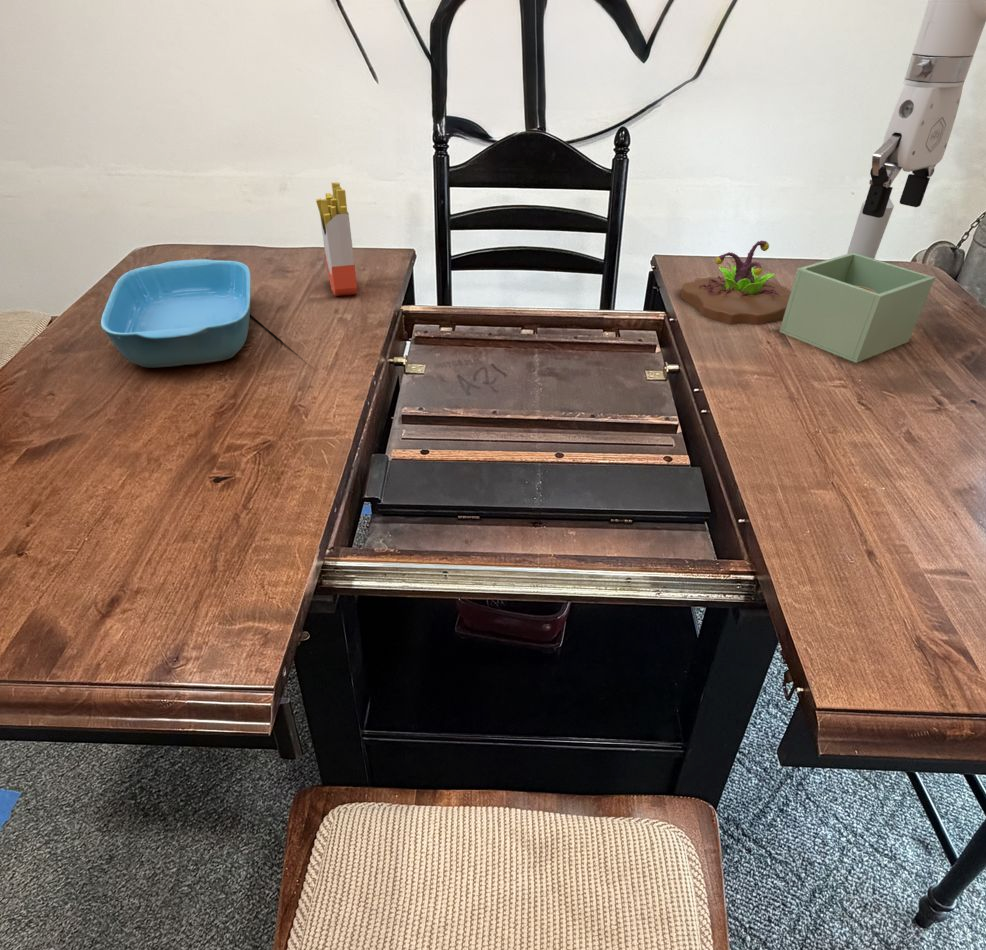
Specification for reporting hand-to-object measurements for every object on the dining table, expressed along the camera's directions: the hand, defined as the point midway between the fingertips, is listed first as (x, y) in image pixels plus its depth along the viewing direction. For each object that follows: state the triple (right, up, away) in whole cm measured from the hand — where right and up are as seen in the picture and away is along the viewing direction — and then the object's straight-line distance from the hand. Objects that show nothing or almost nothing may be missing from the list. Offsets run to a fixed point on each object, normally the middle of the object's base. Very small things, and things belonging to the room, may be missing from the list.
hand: (891, 210), depth 108 cm
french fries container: (-90, 0, +28) cm, 94 cm away
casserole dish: (-112, -14, +13) cm, 114 cm away
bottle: (+7, -2, +28) cm, 29 cm away
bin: (-1, -15, +14) cm, 20 cm away
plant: (-15, -4, +25) cm, 29 cm away
